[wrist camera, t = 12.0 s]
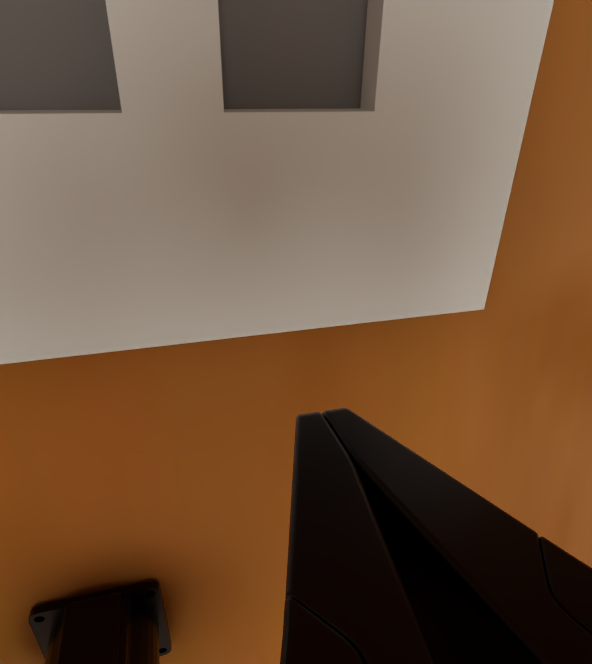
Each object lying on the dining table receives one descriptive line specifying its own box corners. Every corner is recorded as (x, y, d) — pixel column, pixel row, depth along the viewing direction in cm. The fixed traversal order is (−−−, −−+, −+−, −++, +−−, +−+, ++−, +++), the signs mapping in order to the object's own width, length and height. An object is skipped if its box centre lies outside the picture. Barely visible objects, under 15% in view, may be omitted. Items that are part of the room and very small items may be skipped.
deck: (465, 295, 22) (520, 336, 19) (-276, 373, 16) (-389, 455, 13) (536, -56, 16) (637, -88, 13) (-633, -157, 10) (-1048, -274, 6)
